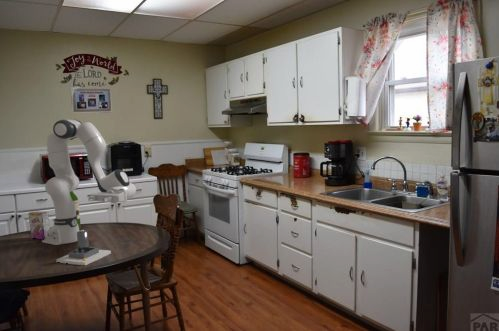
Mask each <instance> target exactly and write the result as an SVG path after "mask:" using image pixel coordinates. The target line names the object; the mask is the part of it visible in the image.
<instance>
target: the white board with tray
mask: <svg viewBox="0 0 499 331" xmlns="http://www.w3.org/2000/svg"><path fill="white" fill-rule="evenodd" d="M110 254H112V251H111V250H108V249H107V250H106V249H100V248H99V247H92V246H89V251H88V252H86V253H78V248H77V249H73V250H72V251H70V252H68V254H66V255H64V256H62V257H59V258H57V259H56V261H55V262H56V263H57V262H60V263H59V264H66V263H68V264H69V265H78V266H84V265H85V266H87V265H90V264H91V263H93V262H96V261H99V260H100V259H103V258H104V257H106V256H109V255H110ZM68 264H67V265H68Z"/></svg>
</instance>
